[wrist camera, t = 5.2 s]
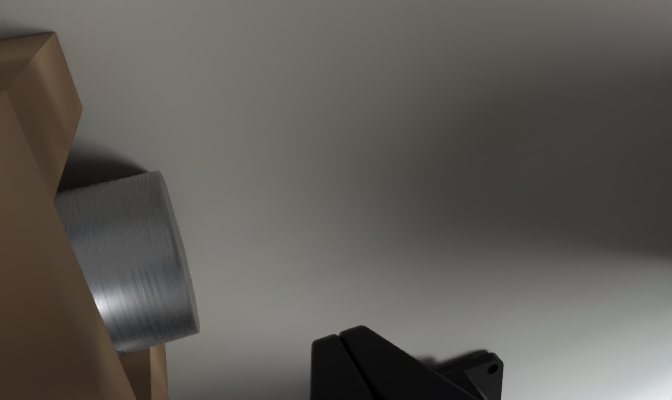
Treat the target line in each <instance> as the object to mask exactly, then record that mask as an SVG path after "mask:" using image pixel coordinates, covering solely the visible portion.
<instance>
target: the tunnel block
mask: <svg viewBox="0 0 672 400" xmlns="http://www.w3.org/2000/svg"><path fill="white" fill-rule="evenodd" d="M82 110H83V108H82V106H81V103H80V100H79V97H78V94H77V92H76V89H75V86H74V83H73V80H72V77H71V75H70V72H69V69H68V66H67V63H66V61H65V58H64V55H63V52H62V49H61V47H60V44H59V41H58V38H57V35H56V32H50V33H43V34H37V35H30V36H24V37H17V38H11V39H4V40H0V400H169V399H168V384H167V369H166V354H165V343H163V344H160V345H157V346H153V347H150V348H146V349H143V350H140V351H136V352H133V353H130V354H126V355H123V356H119V357H118V355H117V353H116V350H115V348H114V345H113V343H112V341H111V338H110V336H109V334H108V331H107V329H106V327H105V324H104V322H103V319H102V317H101V315H100V312H99V310H98V308H97V305H96V303H95V301H94V298H93V296H92V294H91V291H90V289H89V286H88V284H87V282H86V279H85V277H84V275H83V272H82V270H81V268H80V265H79V263H78V260H77V258H76V256H75V253H74V251H73V249H72V246H71V244H70V242H69V239H68V237H67V235H66V232H65V230H64V227H63V225H62V223H61V220H60V218H59V216H58V213H57V211H56V209H55V206H54V204H53V201H54V198H55V195H56V192H57V189H58V185H59V182H60V179H61V176H62V173H63V170H64V166H65V163H66V160H67V157H68V154H69V151H70V147H71V144H72V141H73V138H74V135H75V132H76V128H77V125H78V122H79V119H80V116H81V113H82Z"/></svg>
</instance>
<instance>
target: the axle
mask: <svg viewBox="0 0 672 400" xmlns="http://www.w3.org/2000/svg"><path fill="white" fill-rule="evenodd" d="M53 204H54V206H55V209H56V211H57V213H58V216H59V218H60V220H61V223H62V225H63V227H64V230H65V232H66V235H67V237H68V239H69V242H70V244H71V246H72V249H73V251H74V253H75V256H76V258H77V260H78V263H79V265H80V268H81V270H82V272H83V275H84V277H85V279H86V282H87V284H88V286H89V289H90V291H91V294H92V296H93V298H94V301H95V303H96V305H97V308H98V310H99V312H100V315H101V317H102V319H103V322H104V324H105V327H106V329H107V331H108V334H109V336H110V338H111V341H112V343H113V345H114V348H115V350H116V353H117V355H118V357H119V356H123V355H126V354H130V353H133V352H136V351H140V350H143V349H146V348H150V347H153V346H157V345H160V344H163V343H167V342H170V341H174V340H177V339H180V338H184V337H187V336H191V335H194V334H197V333H199V332H200V325H199V317H198V311H197V305H196V300H195V295H194V290H193V285H192V280H191V276H190V271H189V267H188V263H187V259H186V255H185V250H184V246H183V243H182V239H181V236H180V232H179V229H178V225H177V222H176V218H175V215H174V211H173V208H172V204H171V201H170V197H169V194H168V190H167V187H166V184H165V181H164V179H163V176H162V174H161V172H160V171H154V172H149V173H145V174H140V175H135V176H131V177H126V178H121V179H117V180H112V181H107V182H103V183H98V184H94V185H89V186H84V187H80V188H75V189H70V190H66V191H61V192H56V195H55V198H54V201H53Z"/></svg>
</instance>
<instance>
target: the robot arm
mask: <svg viewBox="0 0 672 400" xmlns="http://www.w3.org/2000/svg"><path fill="white" fill-rule="evenodd" d="M503 366H504V365H503V362H502V360H501V359H500V358H499V357H498V356H497V355H496V354H495V353H487V354H484V355H481V356H479V357H476V358H473V359H470V360H467V361H465V362H462V363H459V364H456V365H453V366H451V367H448V368H445V369H442V370H440V371H437V372H435V371H434V370H432V369H431V368H429V367H427V366H426V365H424V364H423V363H421V362H420V361H418V360H417V359H415V358H414V357H412V356H411V355H409V354H407V353H406V352H404V351H403V350H401V349H400V348H398V347H397V346H395V345H394V344H392V343H390V342H389V341H387V340H386V339H384V338H383V337H381V336H380V335H378V334H377V333H375V332H374V331H372V330H370V329H369V328H367V327H366V326H362V325H360V326H356V327H353V328H350V329H347V330H344V331H342V332H340V334H339V336H338V335H336V334H332V335H329V336H326V337H323V338H320V339H317V340H314V341H313V343H312V349H311V377H310V400H501V391H502V379H503Z"/></svg>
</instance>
